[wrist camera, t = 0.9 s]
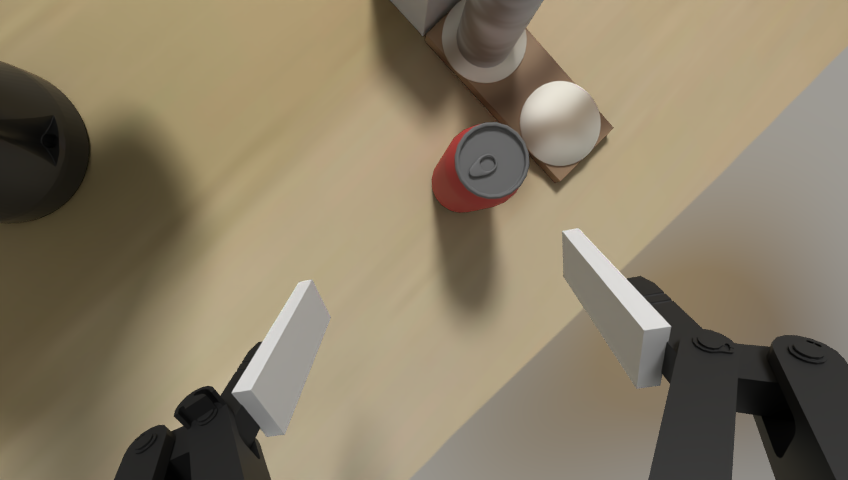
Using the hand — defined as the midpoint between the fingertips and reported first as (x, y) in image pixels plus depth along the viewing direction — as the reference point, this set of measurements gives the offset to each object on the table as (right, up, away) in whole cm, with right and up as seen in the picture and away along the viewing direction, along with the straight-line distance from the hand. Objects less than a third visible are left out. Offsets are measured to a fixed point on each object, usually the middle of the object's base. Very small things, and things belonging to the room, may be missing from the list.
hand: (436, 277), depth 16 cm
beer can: (+3, +8, +18) cm, 20 cm away
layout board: (+10, +19, +18) cm, 28 cm away
